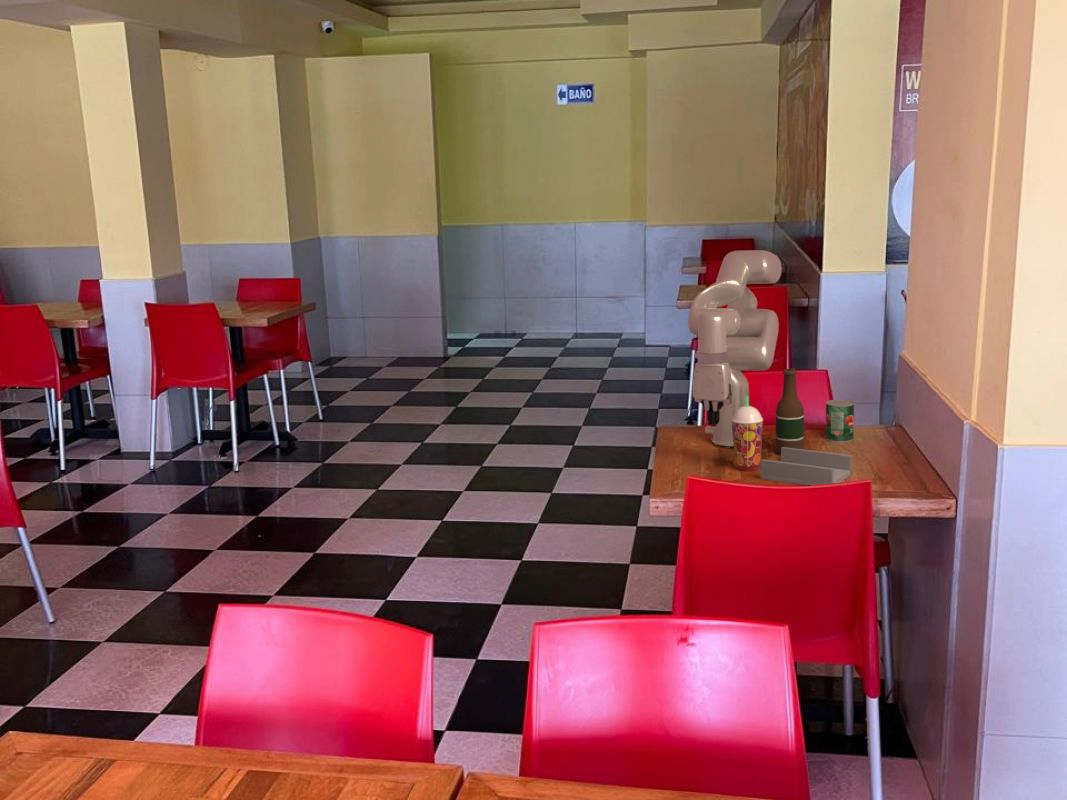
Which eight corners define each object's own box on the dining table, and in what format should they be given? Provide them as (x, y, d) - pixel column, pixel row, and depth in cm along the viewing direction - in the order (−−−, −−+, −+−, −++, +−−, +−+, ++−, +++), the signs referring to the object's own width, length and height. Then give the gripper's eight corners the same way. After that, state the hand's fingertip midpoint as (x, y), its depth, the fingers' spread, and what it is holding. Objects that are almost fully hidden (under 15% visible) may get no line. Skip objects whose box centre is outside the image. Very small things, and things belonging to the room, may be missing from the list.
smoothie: (729, 464, 277) (728, 393, 273) (760, 463, 277) (759, 392, 273) (734, 473, 269) (733, 400, 265) (766, 471, 269) (765, 398, 264)
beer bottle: (805, 449, 288) (805, 367, 282) (802, 457, 280) (803, 372, 275) (777, 448, 290) (777, 366, 285) (774, 455, 283) (774, 372, 278)
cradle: (760, 478, 263) (760, 460, 262) (782, 464, 274) (782, 446, 273) (831, 488, 252) (831, 469, 251) (851, 473, 263) (852, 455, 262)
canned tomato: (857, 441, 293) (857, 404, 290) (829, 443, 293) (830, 406, 290) (848, 434, 301) (849, 398, 298) (822, 436, 301) (822, 400, 298)
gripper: (681, 358, 274) (682, 424, 278) (731, 362, 265) (732, 430, 269) (694, 354, 280) (695, 418, 284) (744, 357, 271) (744, 424, 275)
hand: (713, 424), depth 276 cm, fingers closed
